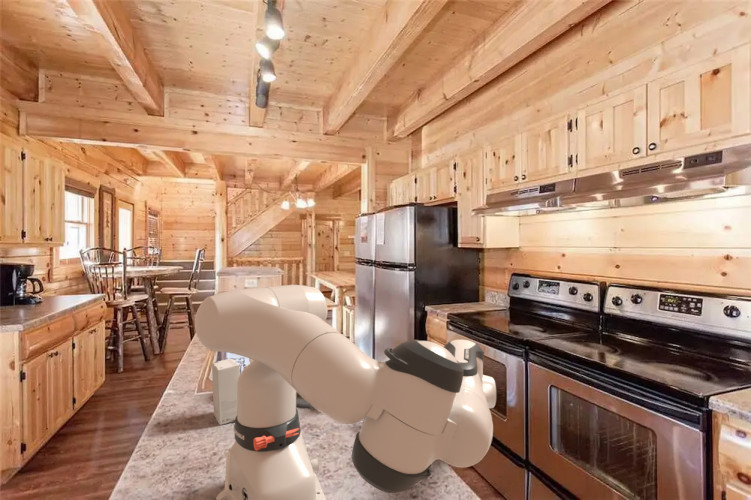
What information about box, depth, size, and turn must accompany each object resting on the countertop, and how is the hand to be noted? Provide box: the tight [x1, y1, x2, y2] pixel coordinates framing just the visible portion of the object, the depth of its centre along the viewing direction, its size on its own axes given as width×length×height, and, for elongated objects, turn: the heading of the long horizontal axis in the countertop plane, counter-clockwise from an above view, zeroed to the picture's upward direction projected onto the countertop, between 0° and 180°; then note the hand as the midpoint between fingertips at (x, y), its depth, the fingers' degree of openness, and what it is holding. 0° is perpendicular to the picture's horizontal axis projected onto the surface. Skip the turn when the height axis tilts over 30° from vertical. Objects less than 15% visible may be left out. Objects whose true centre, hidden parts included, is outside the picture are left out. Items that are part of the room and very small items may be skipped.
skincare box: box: [211, 358, 241, 426], centre depth 103 cm, size 8×6×15 cm
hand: (383, 380), depth 105 cm, fingers open, 8 cm apart
